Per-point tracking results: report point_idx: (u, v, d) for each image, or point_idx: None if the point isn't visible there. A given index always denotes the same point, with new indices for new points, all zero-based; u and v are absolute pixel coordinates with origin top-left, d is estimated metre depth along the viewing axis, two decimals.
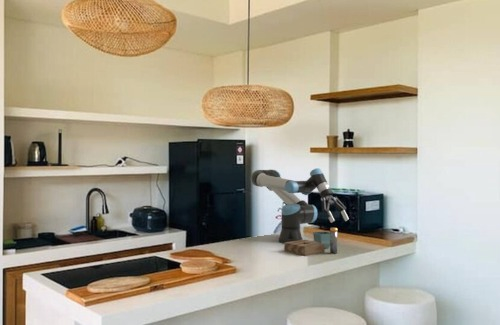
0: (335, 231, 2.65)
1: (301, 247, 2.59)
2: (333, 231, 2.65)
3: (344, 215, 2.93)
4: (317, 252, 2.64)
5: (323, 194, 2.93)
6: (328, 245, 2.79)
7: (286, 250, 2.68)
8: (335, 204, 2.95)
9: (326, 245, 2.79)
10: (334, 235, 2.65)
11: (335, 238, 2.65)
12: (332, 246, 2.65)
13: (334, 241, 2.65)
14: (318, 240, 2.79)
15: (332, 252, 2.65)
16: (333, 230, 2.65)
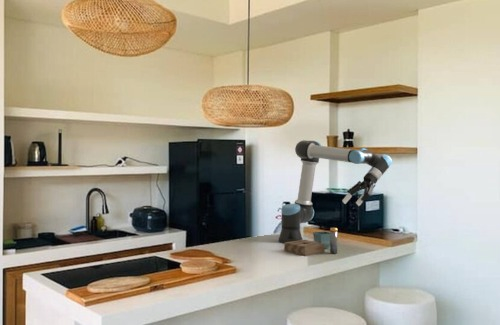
0: (335, 231, 2.65)
1: (301, 247, 2.59)
2: (333, 231, 2.65)
3: (347, 198, 2.77)
4: (317, 252, 2.64)
5: (374, 180, 2.72)
6: (328, 245, 2.79)
7: (286, 250, 2.68)
8: (358, 188, 2.76)
9: (326, 245, 2.79)
10: (334, 235, 2.65)
11: (335, 238, 2.65)
12: (332, 246, 2.65)
13: (334, 241, 2.65)
14: (318, 240, 2.79)
15: (332, 252, 2.65)
16: (333, 230, 2.65)
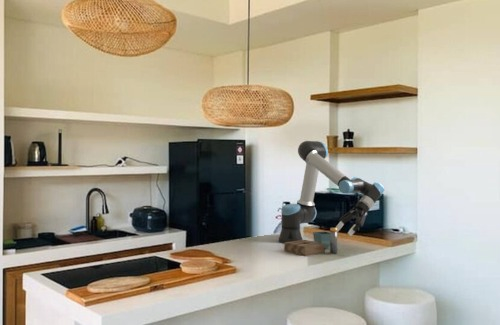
0: (335, 231, 2.65)
1: (301, 247, 2.59)
2: (333, 231, 2.65)
3: (339, 227, 2.74)
4: (317, 252, 2.64)
5: (366, 209, 2.69)
6: (328, 245, 2.79)
7: (286, 250, 2.68)
8: (350, 217, 2.73)
9: (326, 245, 2.79)
10: (334, 235, 2.65)
11: (335, 238, 2.65)
12: (332, 246, 2.65)
13: (334, 241, 2.65)
14: (318, 240, 2.79)
15: (332, 252, 2.65)
16: (333, 230, 2.65)
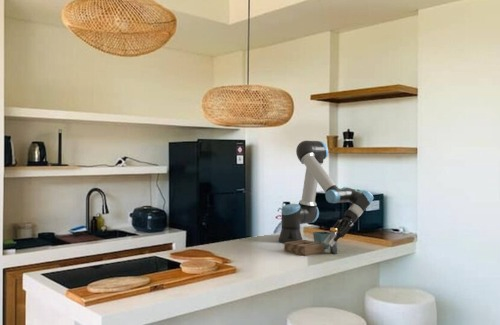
0: (335, 231, 2.65)
1: (301, 247, 2.59)
2: (333, 231, 2.65)
3: (329, 239, 2.68)
4: (317, 252, 2.64)
5: (354, 218, 2.67)
6: (328, 245, 2.79)
7: (286, 250, 2.68)
8: (340, 226, 2.70)
9: (326, 245, 2.79)
10: (334, 235, 2.65)
11: None
12: (332, 246, 2.65)
13: None
14: (318, 240, 2.79)
15: (332, 252, 2.65)
16: (333, 230, 2.65)
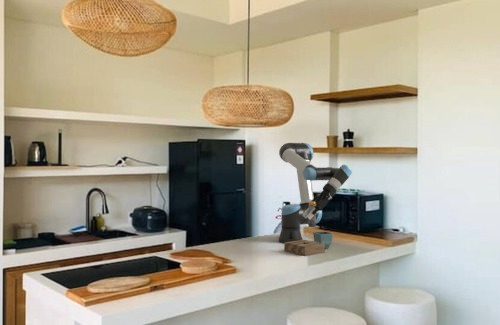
0: (313, 204, 2.65)
1: (301, 247, 2.59)
2: (312, 204, 2.65)
3: (308, 212, 2.68)
4: (317, 252, 2.64)
5: (332, 191, 2.68)
6: (328, 245, 2.79)
7: (286, 250, 2.68)
8: (318, 200, 2.71)
9: (326, 245, 2.79)
10: (312, 208, 2.65)
11: None
12: None
13: None
14: (318, 240, 2.79)
15: (310, 225, 2.66)
16: (312, 203, 2.65)
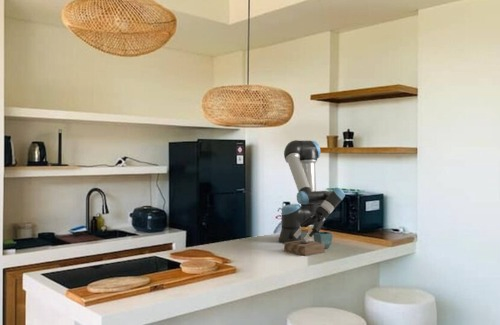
0: (306, 230, 2.67)
1: (301, 247, 2.59)
2: (304, 230, 2.67)
3: (299, 232, 2.74)
4: (317, 252, 2.64)
5: (325, 214, 2.69)
6: (328, 245, 2.79)
7: (286, 250, 2.68)
8: (310, 222, 2.73)
9: (326, 245, 2.79)
10: (305, 234, 2.67)
11: None
12: None
13: None
14: (318, 240, 2.79)
15: None
16: (304, 229, 2.67)
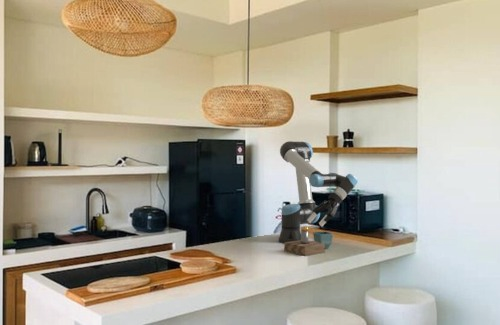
0: (306, 230, 2.67)
1: (301, 247, 2.59)
2: (304, 230, 2.67)
3: (312, 217, 2.77)
4: (317, 252, 2.64)
5: (338, 200, 2.72)
6: (328, 245, 2.79)
7: (286, 250, 2.68)
8: (323, 208, 2.76)
9: (326, 245, 2.79)
10: (305, 234, 2.67)
11: (306, 237, 2.67)
12: None
13: (305, 240, 2.67)
14: (318, 240, 2.79)
15: None
16: (304, 229, 2.67)
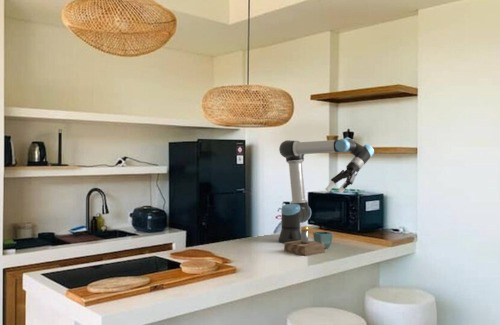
0: (306, 230, 2.67)
1: (301, 247, 2.59)
2: (304, 230, 2.67)
3: (330, 186, 2.89)
4: (317, 252, 2.64)
5: (356, 169, 2.84)
6: (328, 245, 2.79)
7: (286, 250, 2.68)
8: (341, 177, 2.88)
9: (326, 245, 2.79)
10: (305, 234, 2.67)
11: (306, 237, 2.67)
12: None
13: (305, 240, 2.67)
14: (318, 240, 2.79)
15: None
16: (304, 229, 2.67)
